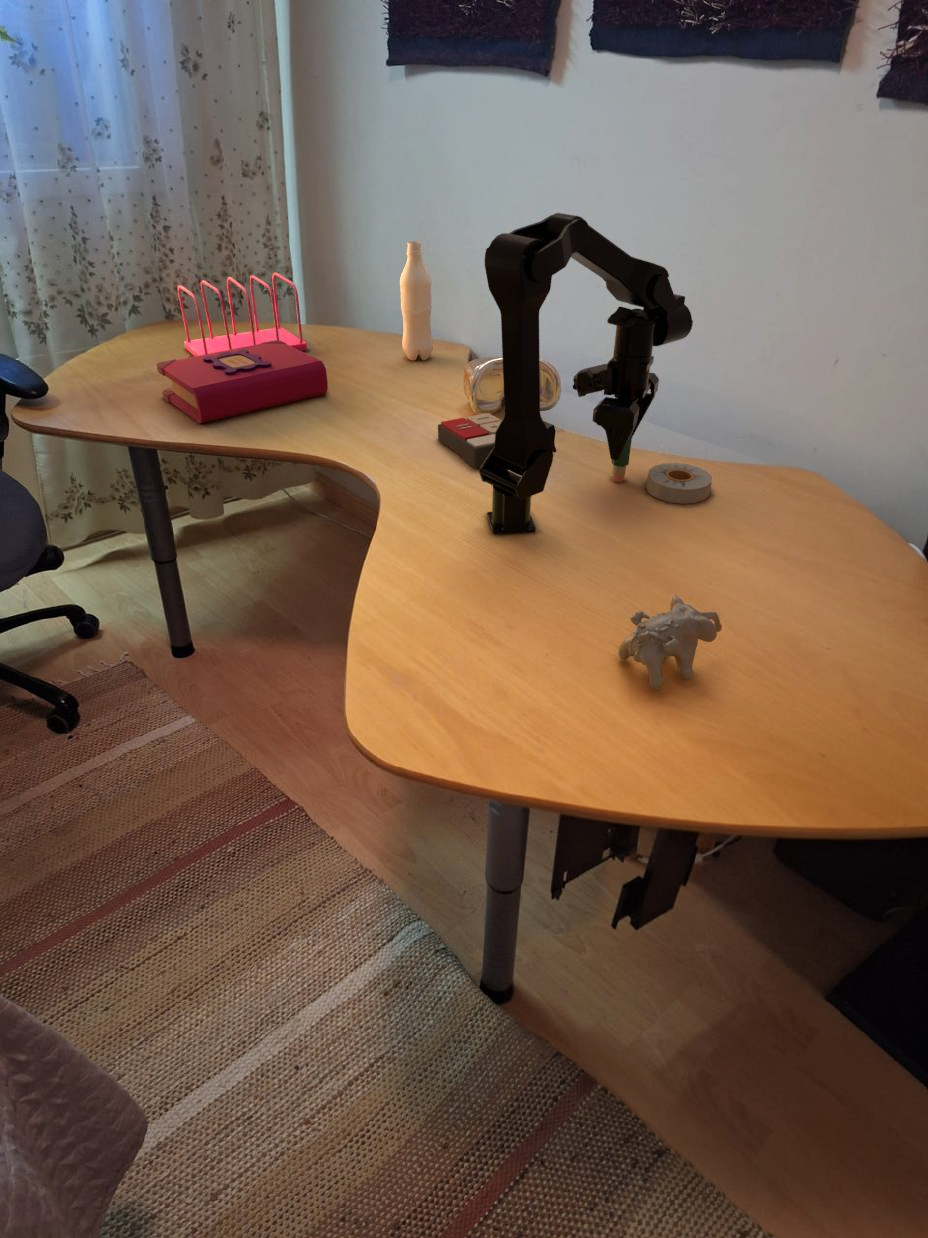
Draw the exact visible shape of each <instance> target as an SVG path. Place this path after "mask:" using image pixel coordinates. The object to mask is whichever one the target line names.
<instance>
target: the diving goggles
mask: <svg viewBox="0 0 928 1238" xmlns="http://www.w3.org/2000/svg"><path fill="white" fill-rule="evenodd" d="M463 391H464V395H465V397H466V399H467V400H468V401H469V404H470V408H471V411H472V412H473V413H474V414H475V415H480V414H485V413H489V414H491V415H493V414H494V413H496V412H498V411H500V409H501V407H502V406H503V405H504V381H503V356H493V357H492V356H491V357H480V358H475V359H472V360H470V361H469V362H468V363H467V364H466V365H465V368H464V371H463ZM561 395H562V380H561V376H560V373H559V371H558V369H557V368H556V367H555V366H554V365H553V364H552V363H551V362H549V361H548V360H546V359H543V358H540V412H547V411H549V410H552V409H553V408H555V407H556V406H557V404H558V403H559V401H560V398H561Z"/></svg>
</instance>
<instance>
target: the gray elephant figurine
mask: <svg viewBox="0 0 928 1238" xmlns="http://www.w3.org/2000/svg"><path fill="white" fill-rule="evenodd" d="M642 619H646V620H644V621H642ZM630 622H631V623H632V624H633V625H634V626H636V627H635V631H633V632H632V633H630V634H629V635H628V636H627V637H626V638H625V639H624V640H623V641H622V642H621V644H620V645H619V647H618V657H619V658H620V660H622V661H626V660H628V659H629V658H630V657H633V660H634V661H635V662H636V663H641V664H642V665H643V666H645V667H646V670H647V673H648V677H649V687H650V688H651V689H652V690H654V691H660V690H661V689H662V688H664V685H665V679H664V676H663V667H662V666H663V662H664V660H669V659H670V657H674V659H675V663H676V666H677V670H678V676H679V677H680V678H681V680H686V681H687V680H690V679H692V678H693V676H694V668H693V664H694V660H695V655H696V650H697V647H698V643H699V640H700V641H702V642H706V643H711V642H714V641H715V640H716V639H717V636H718V633H720V632H721V631H722V629H723V626H722V623H721V619H720V617H719V614H718V613H717V612H716V611H708V612H705V611H703V612H702V611H699V610H698V609H696V608H695V607H693V606H692V605H691V604H687V603H686V604H685V602H684V600H683V599H682V598H680V597H679V596H678V595H677V594H676V593H675V594H674V595H673V596H672V598H671V601H670V611H667V612H661V613H656V614H655V615H654V616H649V615H648V614H647V613H645V612H644V611H642V610H640V611H635V612H634V613H633V614H632V615H631V616H630Z"/></svg>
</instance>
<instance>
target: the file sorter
mask: <svg viewBox="0 0 928 1238" xmlns="http://www.w3.org/2000/svg"><path fill="white" fill-rule="evenodd" d="M276 277H278V278H280V279H282V280H283V281H284V282H286V283H288V284H289V285H291V286H292V288H293V292H294V298H295V306H296V307H295V308H296V316H297V327H298V328H297V329H298V335H299V337H298V336H296V335H295V334H293V333H292V332H290V331H289V330H287V329H285V328H283V327H281V322H280V321H281V320H280V314H279V313H280V312H279V305H278V296H277V287H276ZM253 280H255V281H256V282H258V283H260V284H261V285H263V286H264V287H266V288H267V289H268V292H269V294H270V295H269V296H270V299H271V305H272V313H273V315H272V316H273V323H274V328H267V329H261V330H259V323H258V316H257V307H256V301H255V300H256V299H255V293H254V284H253ZM271 280H272V287H271V286H270V284H268V283H267V282H265V281H263V280H262V279H260V278H259V277H257V276H255V275H253V274H252V275H250V277H249V287H250V288H249V289H250V296H249V292H248V290H247V289H246V288H245V287H244V286H243V285H242V284H241V283H239V282H238V281H237V280H235V279H234V278H233V277H231V276H228V277H227V279H226V285H227V286H226V287H227V294H228V301H229V302H228V303H229V308H230V315H231V322H232V323H231V324H232V329H233V334H230V332H229V331H230V330H229V326H228V321H227V316H226V310H225V305H224V299H223V297H222V294H221V292H220V290H219V289H218V288H217V287H215V286H214V285H212V284H211V283H209V282H207V281H206V280H201V281H200V289H201V295H202V300H203V305H204V309H205V310H204V311H205V315H206V320H207V325H208V329H209V334H210V335H209V336H210V337H206V336H205V331H204V326H203V321H202V315H201V310H200V305H199V302H198V299H197V296H196V295H195V294H194V293H193V292H191V290H188V289H187V287H184V286H183V285H181V284H180V285H177V294H178V301H179V304H180V310H181V315H182V321H183V325H184V329H185V334H186V341H184V348H185V350H187V351H188V352H189V353H190V354H192V356H193V357H194V356H199V355H205V354H210V353H215V352H220V351H225V350H230V349H236V348H241V347H246V346H251V345H256V344H261V343H264V342H269V341H274V340H279V341H283V342H285V343H286V344H287V345H289V346H291V347H294V348H296V349H298V350H300V351H302V352H303V351H307V350H308V345H307V342H306V341H304V340H303V332H302V321H301V311H300V301H299V293H298V289H297V286H296V284H295V283H294V282H293V281H292V280H290V279H288V278H286V276H284V275H282V274H280V273H279V272H274V273H273V274H272V279H271ZM231 282H232V283H233V284H235V285H236V286H237V287H238V288H239V289H241V290H242V291H243V292H244V295H245V297H246V302H247V309H248V315H249V323H250V330H251V331H247V332H239V333H237V329H236V322H235V314H234V313H235V312H234V305H233V300H232V299H233V298H232V293H231ZM204 285H205V286H208V287H209V288H210V289H212V290H213V291H214V292H215V293H216V294H217V296H218V299H219V302H220V303H219V304H220V308H221V313H222V317H223V322H224V328H225V333H226V335H219V336H214V331H213V327H212V323H211V319H210V318H211V317H210V313H209V307H208V302H207V298H206V293H205V288H204V287H205V286H204ZM181 290H182V291H184V292H185V293H186V294H187V295H189V296H191V297H192V299H193V301H194V304H195V309H196V313H197V319H198V323H199V329H200V334H201V338H197V339H192V340H191V336H190V332H189V327H188V322H187V317H186V312H185V307H184V302H183V298H182V291H181ZM250 297H251V300H250ZM251 303H252V305H251ZM252 312H253V313H252ZM253 316H254V317H253ZM253 318H254V320H253Z"/></svg>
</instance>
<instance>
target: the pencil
mask: <svg viewBox="0 0 928 1238" xmlns="http://www.w3.org/2000/svg"><path fill="white" fill-rule="evenodd" d="M632 433H633V432H632ZM632 433H631V435H630V437H629V439H628V441H627V443H626V445H625V447H624V449H623V451H622V453H621V454H620V456H619V458H618V460H612V459H611V464H612V472H611V473H612V479H611V480H612V481H613V482H616V483H622V482H624V481H625V476H626V471H627V466H629V463H630V456H631V448H632V440H633V437H632Z"/></svg>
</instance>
